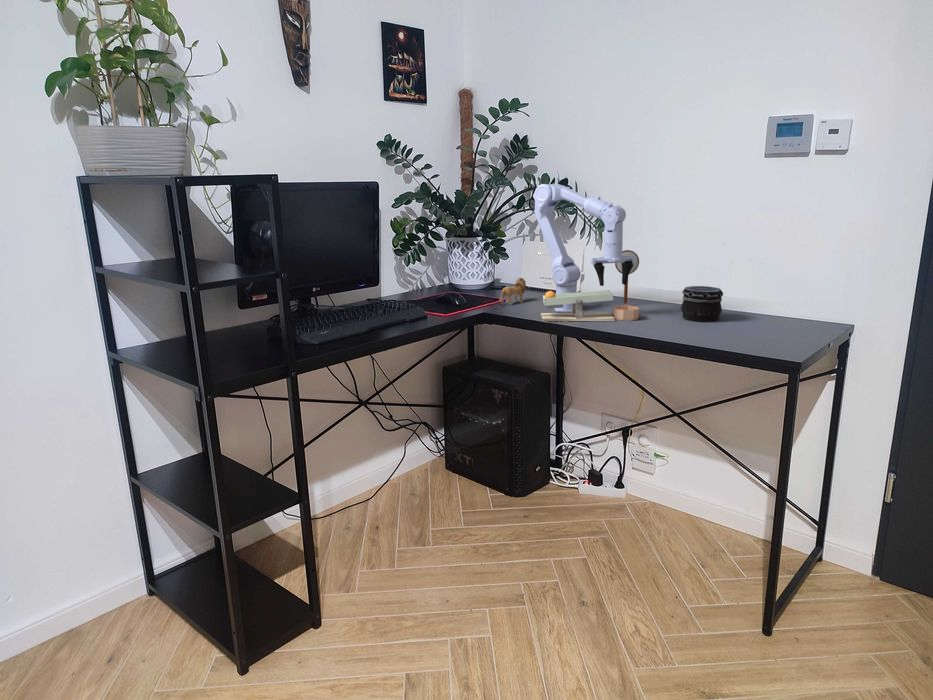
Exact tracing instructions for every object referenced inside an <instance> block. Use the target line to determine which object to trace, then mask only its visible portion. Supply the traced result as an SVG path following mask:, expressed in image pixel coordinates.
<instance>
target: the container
mask: <svg viewBox="0 0 933 700" xmlns="http://www.w3.org/2000/svg"><path fill="white" fill-rule="evenodd" d="M681 293H682V294H683V296H682V303H681V307H680V311H681V313H682V319H684V320H687V321H691V322H692V321H693V322H702V323H704V322H705V323H709V321H712V322H717V321H719V319H720V315H721V313H722V312H723V309H722V303H721V302H722V300H723V298H722V297H723V296H724V292H723V291H722V289H721V288H719V287H714V286H706V285H705V286H704V285H692V286H686V287H684V288H683V289H682V291H681ZM716 320H717V321H716Z"/></svg>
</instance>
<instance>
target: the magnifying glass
mask: <svg viewBox="0 0 933 700" xmlns="http://www.w3.org/2000/svg"><path fill="white" fill-rule="evenodd" d="M622 256H636V262H632V263H633V267H632V269H631V271H630V273H629V275H631V274H633V273H635V272H636V271H637V269H638V268H639V265H640V258H639V256H638V254H637V253H636V252H635V251H633V250H630V249H625V250H622ZM618 261H619V260H618ZM614 267H615V269H616V270H617V272H619V273H620V274H622V264H621V263H614ZM628 286H629V277H628V278H627V282H626V285H624V286H623V287H624V289H623V304H624V305H627V304H628V293H629V292H628V288H629V287H628Z"/></svg>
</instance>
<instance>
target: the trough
mask: <svg viewBox="0 0 933 700" xmlns="http://www.w3.org/2000/svg"><path fill="white" fill-rule="evenodd" d="M555 295H556V297H555V298H545V294H543V295H542V301H543V305H544V307H545V306H546V307H547V309H548V310H550V309H554V308H563V304H573V303H576V300H583V303H585V304H586V303H595V302H605V301H606V302H608V301H614V293H613V292H611V291H610V289H606V290H605V289H603V290H591V291H590V290H589V291H581V292H580V291H578V292H577V293H566V294H556V293H555Z"/></svg>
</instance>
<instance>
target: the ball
mask: <svg viewBox="0 0 933 700" xmlns="http://www.w3.org/2000/svg"><path fill="white" fill-rule="evenodd" d="M555 294H556V292H554V291H552V290H548V291H546V292H545V294H544V295H545V298H555V297H556V295H555Z"/></svg>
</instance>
